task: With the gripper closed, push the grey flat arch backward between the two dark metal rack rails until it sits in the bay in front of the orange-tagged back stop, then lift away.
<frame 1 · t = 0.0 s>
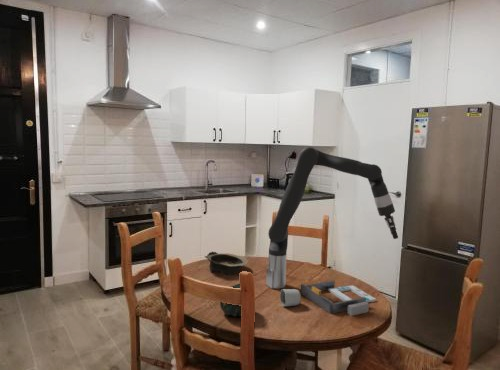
hand: (394, 236, 184), 31 cm above the table, tool tilted 20°, fingers open, 8 cm apart
rack bay: (331, 299, 185), on the table
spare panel: (357, 313, 172), on the table
stone bowl: (226, 270, 224), on the table
squash: (237, 314, 168), on the table
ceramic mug: (288, 304, 180), on the table
grey flat arch: (351, 297, 191), on the table
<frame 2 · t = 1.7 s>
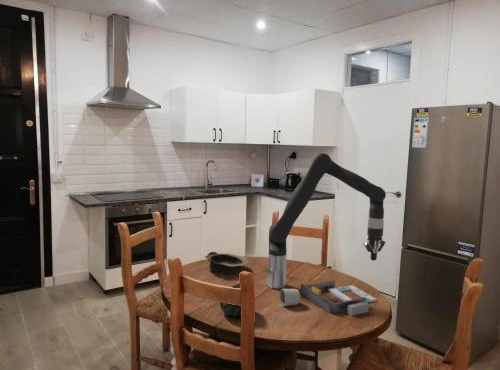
hand: (373, 259, 194), 17 cm above the table, tool pointing down, fingers closed
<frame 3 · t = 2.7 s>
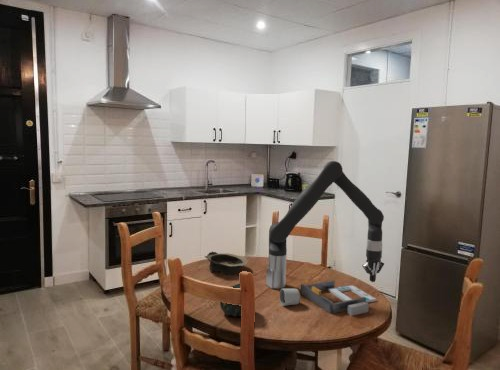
hand: (372, 281, 196), 6 cm above the table, tool pointing down, fingers closed
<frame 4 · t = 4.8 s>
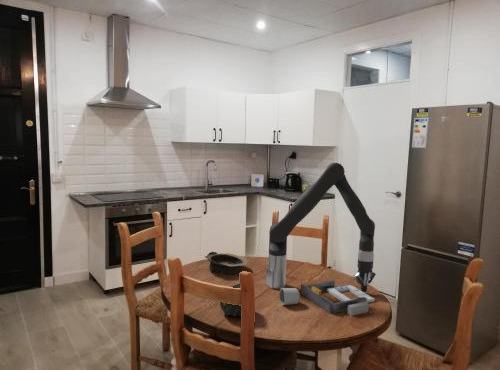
hand: (363, 291, 194), 1 cm above the table, tool pointing down, fingers closed
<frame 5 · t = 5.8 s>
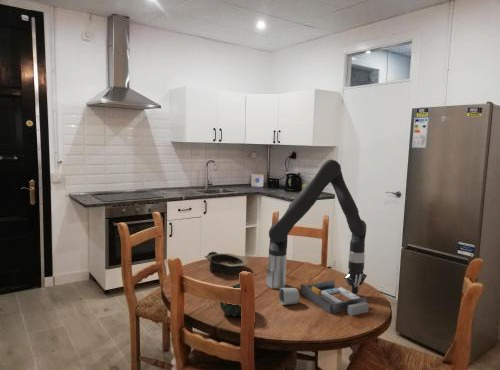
hand: (354, 293, 192), 1 cm above the table, tool pointing down, fingers closed
grey flat arch: (340, 299, 188), on the table, touching gripper
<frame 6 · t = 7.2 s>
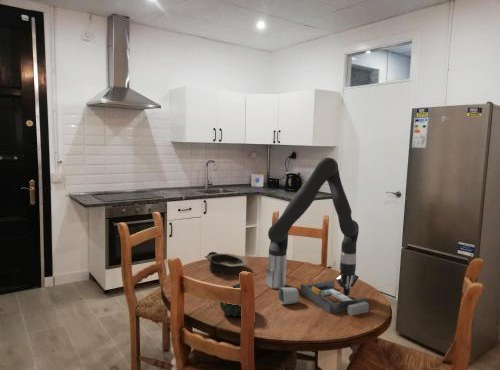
hand: (346, 295, 189), 1 cm above the table, tool pointing down, fingers closed
grey flat arch: (332, 301, 185), on the table, touching gripper
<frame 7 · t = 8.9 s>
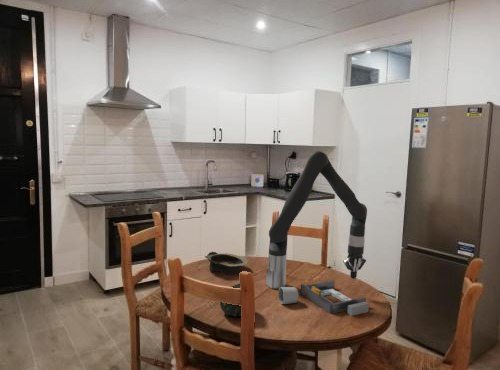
hand: (353, 278, 190), 9 cm above the table, tool pointing down, fingers closed
grey flat arch: (332, 301, 185), on the table
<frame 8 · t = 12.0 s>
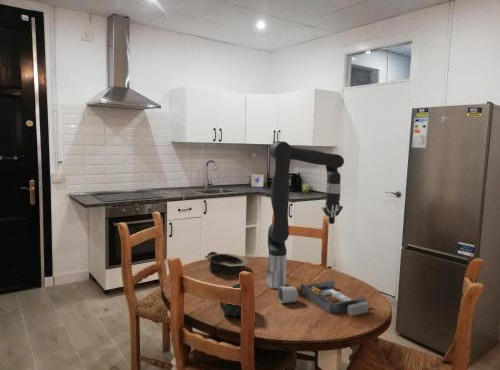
hand: (331, 223, 207), 32 cm above the table, tool pointing down, fingers closed
at the end: grey flat arch inside the target area (0.7 cm from its centre), on the table; grey flat arch moved 12.4 cm from its start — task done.
